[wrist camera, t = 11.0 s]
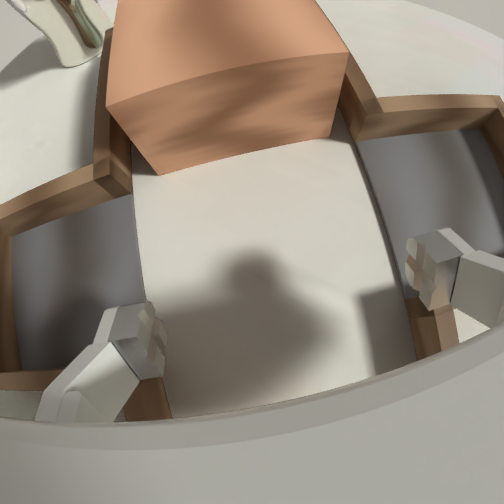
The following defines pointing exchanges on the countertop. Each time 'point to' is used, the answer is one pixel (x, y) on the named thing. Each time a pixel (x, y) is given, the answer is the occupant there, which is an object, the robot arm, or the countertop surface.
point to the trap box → (126, 242)
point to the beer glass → (68, 26)
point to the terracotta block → (222, 77)
